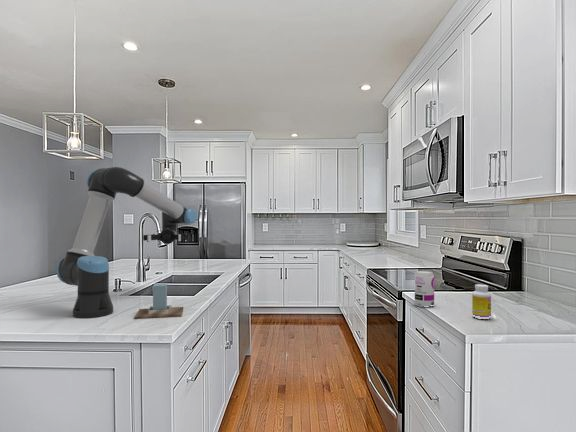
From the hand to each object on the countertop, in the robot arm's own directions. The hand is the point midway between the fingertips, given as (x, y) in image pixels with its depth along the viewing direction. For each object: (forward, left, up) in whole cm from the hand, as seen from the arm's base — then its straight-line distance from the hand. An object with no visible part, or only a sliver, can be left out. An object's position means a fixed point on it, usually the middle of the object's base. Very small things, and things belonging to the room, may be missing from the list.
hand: (164, 238), depth 185 cm
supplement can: (+114, -29, -30) cm, 121 cm away
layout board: (0, -19, -30) cm, 35 cm away
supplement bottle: (+124, -54, -30) cm, 138 cm away
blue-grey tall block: (0, -19, -29) cm, 35 cm away
